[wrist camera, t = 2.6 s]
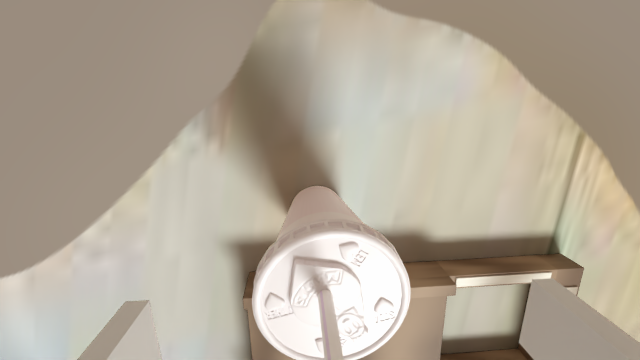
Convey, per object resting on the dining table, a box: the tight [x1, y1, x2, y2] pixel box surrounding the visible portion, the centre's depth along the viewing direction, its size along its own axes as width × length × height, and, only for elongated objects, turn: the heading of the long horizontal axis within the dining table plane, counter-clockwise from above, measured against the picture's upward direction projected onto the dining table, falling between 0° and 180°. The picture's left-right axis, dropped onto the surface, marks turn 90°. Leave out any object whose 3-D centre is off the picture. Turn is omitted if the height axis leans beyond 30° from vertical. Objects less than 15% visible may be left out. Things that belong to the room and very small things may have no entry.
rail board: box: [243, 254, 584, 360], centre depth 23 cm, size 24×10×3 cm, turn 91°
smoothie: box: [252, 186, 410, 360], centre depth 14 cm, size 6×6×14 cm
